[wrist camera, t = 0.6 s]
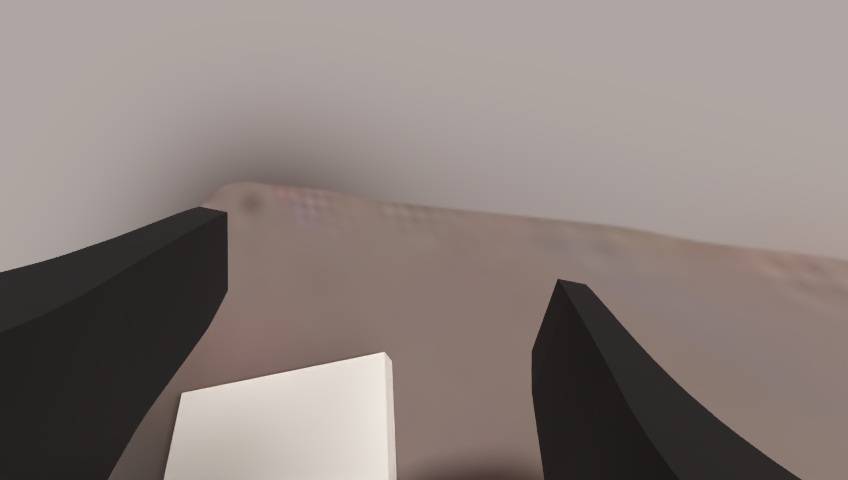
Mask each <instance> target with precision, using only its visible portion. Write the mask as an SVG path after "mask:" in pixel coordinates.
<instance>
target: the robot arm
mask: <svg viewBox="0 0 848 480" xmlns="http://www.w3.org/2000/svg"><path fill="white" fill-rule="evenodd" d="M227 291H228V236H227V212H223V211H218V210H213V209H208V208H203V207H197V208H193V209H190V210H187V211H184V212H181V213H178V214H175V215H173V216H170V217H167V218H165V219H162V220H160V221H157V222H155V223H152V224H149V225H147V226H145V227H142V228H139V229H137V230H134V231H131V232H129V233H126V234H123V235H121V236H118V237H116V238H113V239H110V240H107V241H104V242H101V243H98V244H95V245H92V246H89V247H86V248H84V249H80V250H78V251H75V252H72V253H69V254H66V255H63V256H60V257H56V258H53V259H49V260H46V261H43V262H39V263H35V264H32V265H28V266H24V267H20V268H16V269H12V270H9V271H4V272H0V480H108V478H109V476H110V474H111V472H112V470H113V469H114V467H115V465H116V463H117V462H118V460H119V458H120V457H121V455H122V453H123V451H124V450H125V448H126V446H127V444H128V443H129V441H130V439H131V437H132V436H133V434H134V432H135V430H136V429H137V427H138V426H139V424H140V423H141V421H142V420H143V418H144V416H145V415H146V413H147V412H148V410H149V409H150V407H151V406H152V405H153V403H154V402H155V401H156V399H157V398H158V397H159V395H160V394H161V392H162V391H163V390H164V388H165V387H166V386H167V384H168V383H169V381H170V380H171V379H172V377H173V376H174V375H175V373H176V372H177V370H178V369H179V368H180V366H181V365H182V364H183V362H184V361H185V360H186V358H187V357H188V355H189V354H190V353H191V351H192V350H193V348H194V347H195V346H196V344H197V343H198V341H199V340H200V339H201V337H202V336H203V334H204V333H205V332H206V330H207V329H208V327H209V325H210V324H211V322H212V320H213V318H214V316H215V314H216V312H217V311H218V309H219V307H220V305H221V303H222V301H223V299H224V297H225V295H226V293H227ZM532 396H533V404H534V411H535V418H536V425H537V432H538V439H539V445H540V452H541V459H542V466H543V472H544V479H545V480H801V479H800V478H798V477H796V476H795V475H794V474H792V473H791V472H789V471H788V470H786V469H785V468H783V467H782V466H780V465H779V464H777V463H776V462H775V461H773V460H772V459H770V458H769V457H767V456H766V455H765V454H763V453H762V452H761V451H759V450H758V449H757V448H755V447H754V446H753V445H751V444H750V443H749V442H747V441H746V440H744V439H743V438H742V437H740V436H739V435H738V434H736V433H735V432H734V431H733V430H731V429H730V428H729V427H728V426H726V425H725V424H724V423H722V422H721V421H720V420H719V419H718V418H716V417H715V416H714V415H713V414H712V413H711V412H709V411H708V410H707V409H706V408H705V407H704V406H702V405H701V404H700V403H699V402H698V401H697V400H695V399H694V398H693V397H692V396H691V395H690V394H688V393H687V392H686V391H685V390H684V389H683V388H682V387H681V386H680V385H679V384H678V383H677V382H676V381H675V380H674V379H673V378H672V377H671V376H670V375H669V374H668V373H666V372H665V371H664V370H663V369H662V368H661V367H660V366H659V365H658V364H657V363H656V362H655V361H654V360H653V358H652V357H651V356H650V355H649V354H648V353H647V352H646V351H645V350H644V349H643V348H642V347H641V346H640V345H639V344H638V342H637V341H636V340H635V339H634V338H633V337H632V336H631V335H630V334H629V332H628V331H627V330H626V329H625V328H624V327H623V326H622V324H621V323H620V322H619V321H618V320H617V319H616V318H615V316H614V315H613V314H612V313H611V312H610V311H609V309H608V308H607V307H606V306H605V305H604V304H603V303H602V301H601V300H600V299H599V298H598V297H597V296H596V295H595V293H594V292H593V291H592V290H591V289H590V288H589V287H588V286H587V285H585V284H581V283H576V282H571V281H566V280H561V279H558V280H557V283H556V285H555V288H554V291H553V294H552V297H551V299H550V302H549V305H548V308H547V310H546V313H545V316H544V319H543V322H542V324H541V327H540V330H539V333H538V335H537V338H536V341H535V344H534V347H533V349H532Z"/></svg>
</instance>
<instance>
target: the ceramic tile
mask: <svg viewBox="0 0 848 480" xmlns="http://www.w3.org/2000/svg"><path fill="white" fill-rule="evenodd" d="M164 480H397V475H396V450H395V426H394V401H393V377H392V361H391V360H390V358H389V357H388V356H387V355H386V353H385V352H382V353H377V354H372V355H367V356H362V357H357V358H353V359H348V360H343V361H338V362H333V363H328V364H323V365H318V366H313V367H308V368H303V369H298V370H293V371H288V372H283V373H278V374H273V375H269V376H264V377H259V378H254V379H249V380H244V381H239V382H234V383H229V384H224V385H219V386H214V387H209V388H204V389H199V390H194V391H189V392H184V393H182V395H181V400H180V405H179V409H178V414H177V419H176V424H175V428H174V433H173V438H172V443H171V447H170V452H169V457H168V462H167V466H166V471H165V476H164Z"/></svg>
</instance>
